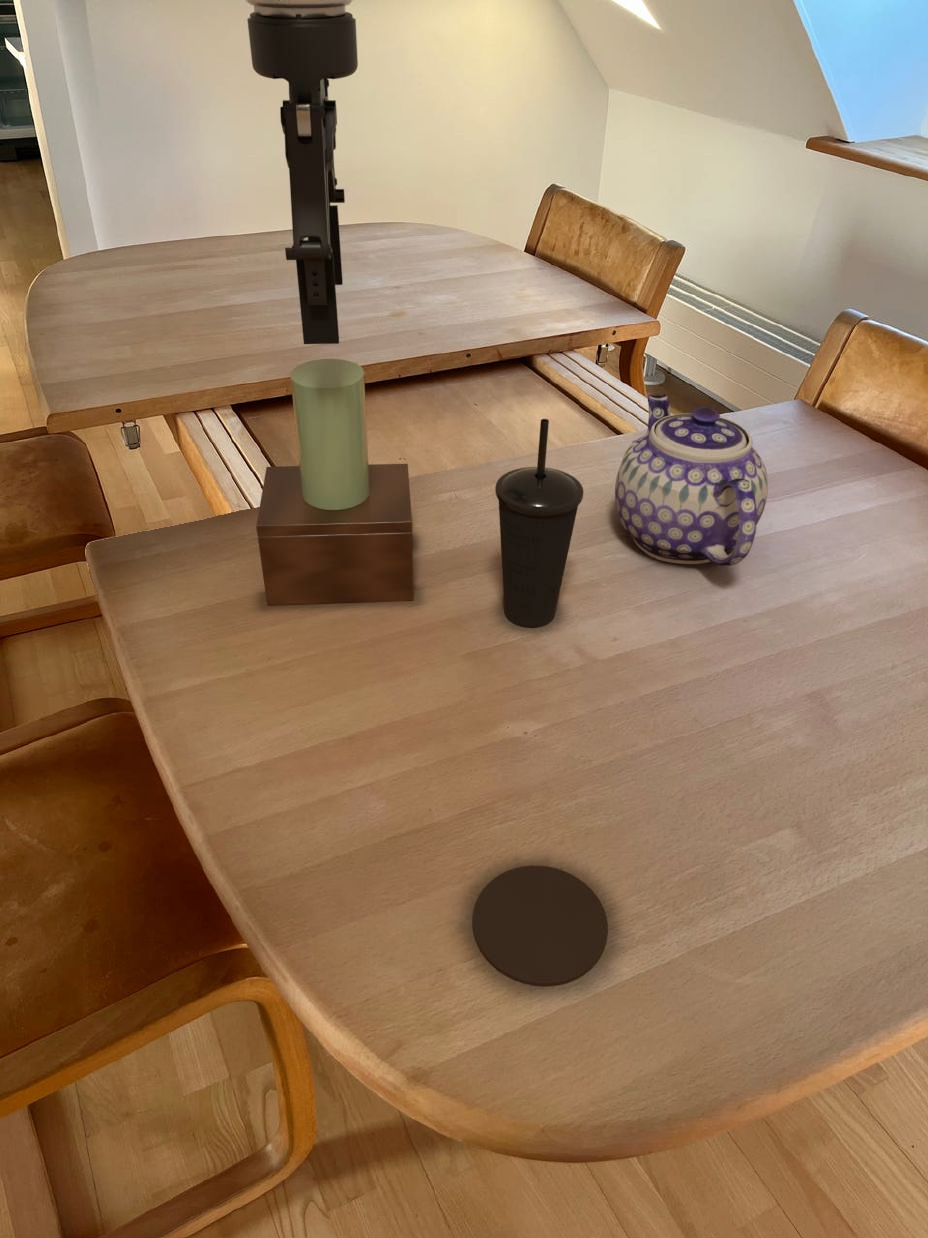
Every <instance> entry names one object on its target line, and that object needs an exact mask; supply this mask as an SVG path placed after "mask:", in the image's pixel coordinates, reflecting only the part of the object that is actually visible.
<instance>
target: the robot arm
mask: <svg viewBox="0 0 928 1238" xmlns="http://www.w3.org/2000/svg"><path fill="white" fill-rule="evenodd" d="M245 1H246V2H247V3H248V4H249V5H251V6H253V12H251V13H249V17H248V18H247V19H246V21H247V29H248V37H249V38H248V39H249V47H250V48H249V49H250V57H251V66H252V69H253V70H254V72H255V73H256V74H258V75H259V76H261V77H263V78H267V79H272V80H278V79H279V80H280V79H282V80H285V81H286V82H288V99H283V100H282V106H280V108H279V110H280V111H279V113H280V114H279V115H280V125H281V129H282V133H283V135H284V154H285V161H286V165H287V167H288V172H289V193H290V208H291V225H292V226H291V228H292V245H291V247H285V248H284V252H285V259H286V261H295V264H296V276H297V285H298V287H297V288H298V296H299V308H300V317H301V326H302V327H301V328H302V329H301V330H302V339H303V340H302V341H303V345H335V344H337V345H338V344H339V345H340V335H339V334H340V333H339V319H338V303H337V302H338V301H337V291H336V289H337V288H336V286H343V284H344V283H343V282H344V281H343V267H342V265H343V264H342V253H341V252H342V251H341V250H342V249H341V236H340V235H341V234H340V222H339V207H338V204H345V202H346V199H345V197H346V196H345V189H344V188H337V186H338V179H337V178H336V172H335V171H336V170H335V154H334V151H335V150H336V149H337V135H336V134H337V126H338V114H337V113H338V112H337V111H338V109H337V101H336V99H335V100H334V99H330V100H329V87H330V80H338V79H343V78H347V77H350V76H352V75H353V74H355V73H356V71H357V69H358V65H359V61H358V60H359V59H358V39H357V20H356V18H354V17H353V14H352V13H351V12H348V11H346V6H349V5H350V4H351V3H352V2H353V1H354V0H245ZM331 204H335V205H331ZM336 204H337V205H336ZM306 238H307V240H305V239H306Z"/></svg>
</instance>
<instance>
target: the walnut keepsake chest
mask: <svg viewBox="0 0 928 1238" xmlns="http://www.w3.org/2000/svg"><path fill="white" fill-rule="evenodd" d="M264 473H265V474H264V479H263V483H262V492H261V496H260V502H259V507H258V513H257V519H256V524H255V526H256V534H257V540H258V541H257V542H258V548H259V549H258V550H259V556H260V564H261V571H262V577H263V585H264V586H263V587H264V593H265V599H266V605H267V606H290V605H319V604H320V605H323V604H351V603H379V602H380V603H381V602H411V601H414V560H413V558H414V557H413V518H412V517H413V516H412V502H411V490H410V475H409V464H408V463H378V464H377V463H376V464H373V463H372V464H371V463H370V464H369V483H370V494H369V496H368V498H367V499H366V500H365V501H364V502H363V503H361V504H359V505H357V506H355V507H352V508H348V509H343V510H324V509H319V508H316V507H313V506H311V505H309V504H308V503H307V502H306V501H305V500H304V499H303V497H302V489H301V479H300V469H299V465H288V466H287V465H286V466H284V465H283V466H282V465H281V466H266V467H265V472H264Z"/></svg>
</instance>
